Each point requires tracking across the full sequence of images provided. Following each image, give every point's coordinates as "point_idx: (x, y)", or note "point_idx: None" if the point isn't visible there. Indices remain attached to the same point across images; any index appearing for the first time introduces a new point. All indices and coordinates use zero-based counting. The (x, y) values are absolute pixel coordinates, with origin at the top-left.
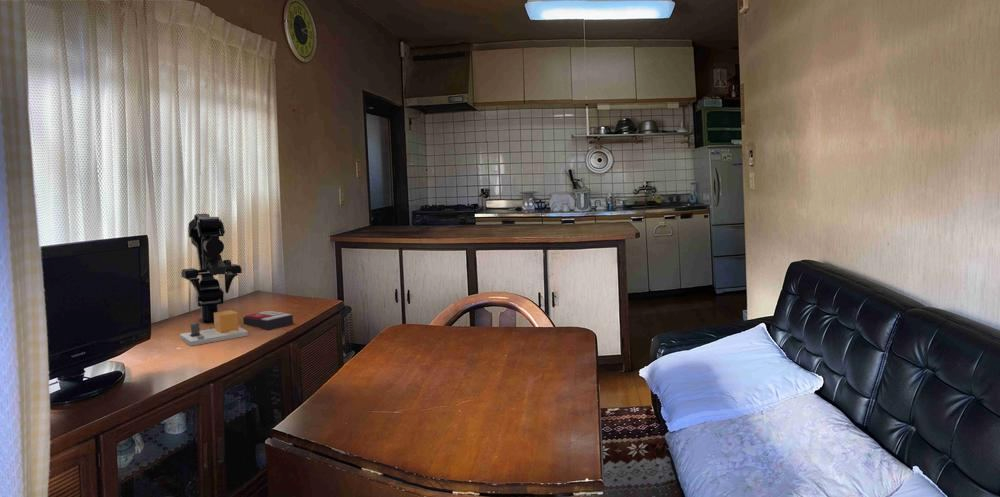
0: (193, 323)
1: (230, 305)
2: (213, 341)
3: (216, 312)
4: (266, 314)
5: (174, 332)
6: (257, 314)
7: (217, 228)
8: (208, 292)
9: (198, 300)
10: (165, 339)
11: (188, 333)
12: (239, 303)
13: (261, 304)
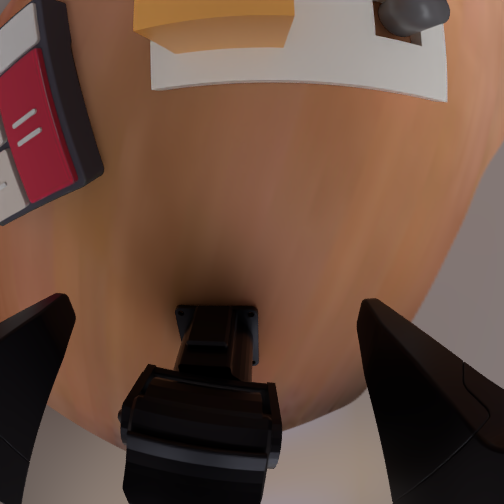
0: (435, 7)
1: None
2: None
3: (271, 8)
4: (1, 134)
5: (413, 230)
6: (26, 161)
7: None
8: (212, 431)
9: (276, 405)
10: (473, 138)
11: (417, 76)
12: (115, 430)
13: (60, 391)
